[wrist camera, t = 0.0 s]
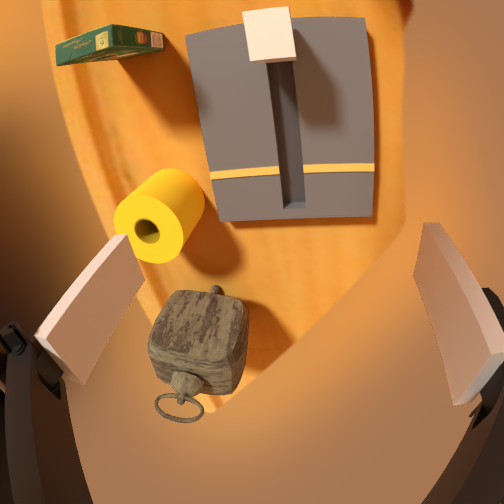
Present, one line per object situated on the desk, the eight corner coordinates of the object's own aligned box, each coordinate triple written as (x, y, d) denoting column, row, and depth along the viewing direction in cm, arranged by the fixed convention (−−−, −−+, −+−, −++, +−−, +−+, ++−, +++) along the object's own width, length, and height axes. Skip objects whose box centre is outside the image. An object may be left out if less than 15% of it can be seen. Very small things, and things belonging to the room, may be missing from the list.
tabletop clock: (181, 305, 57) (133, 417, 36) (176, 269, 52) (115, 389, 31) (254, 317, 55) (228, 442, 35) (257, 281, 50) (227, 419, 30)
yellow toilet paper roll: (173, 155, 40) (142, 179, 32) (218, 206, 43) (199, 240, 36) (133, 194, 44) (102, 223, 36) (174, 238, 48) (151, 274, 40)
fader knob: (257, 27, 27) (241, 11, 19) (291, 23, 27) (288, 6, 18) (263, 64, 30) (249, 61, 22) (297, 61, 29) (296, 57, 21)
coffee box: (166, 31, 29) (110, 22, 18) (167, 50, 31) (111, 48, 20) (115, 42, 30) (52, 44, 20) (116, 60, 32) (53, 68, 21)
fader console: (191, 37, 30) (184, 35, 27) (360, 21, 25) (364, 17, 23) (224, 213, 44) (219, 222, 42) (368, 208, 40) (372, 217, 37)
